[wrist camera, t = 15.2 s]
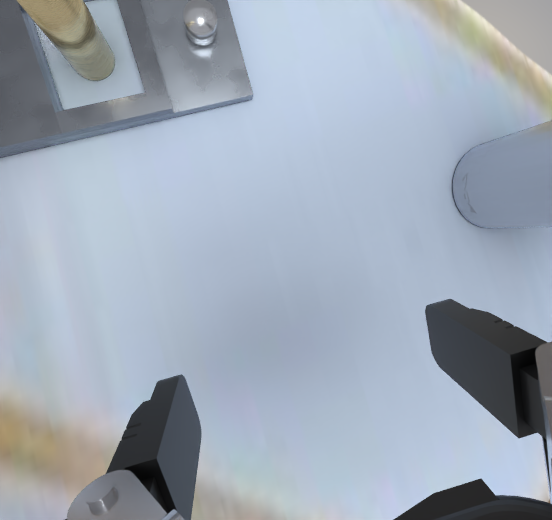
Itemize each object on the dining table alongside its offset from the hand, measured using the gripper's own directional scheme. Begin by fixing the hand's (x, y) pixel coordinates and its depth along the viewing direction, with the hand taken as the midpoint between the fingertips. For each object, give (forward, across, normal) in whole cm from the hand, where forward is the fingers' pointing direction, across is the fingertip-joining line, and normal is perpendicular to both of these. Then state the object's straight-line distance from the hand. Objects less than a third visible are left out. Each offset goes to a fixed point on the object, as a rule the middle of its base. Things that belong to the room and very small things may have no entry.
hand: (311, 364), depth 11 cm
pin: (+26, +10, -19) cm, 34 cm away
